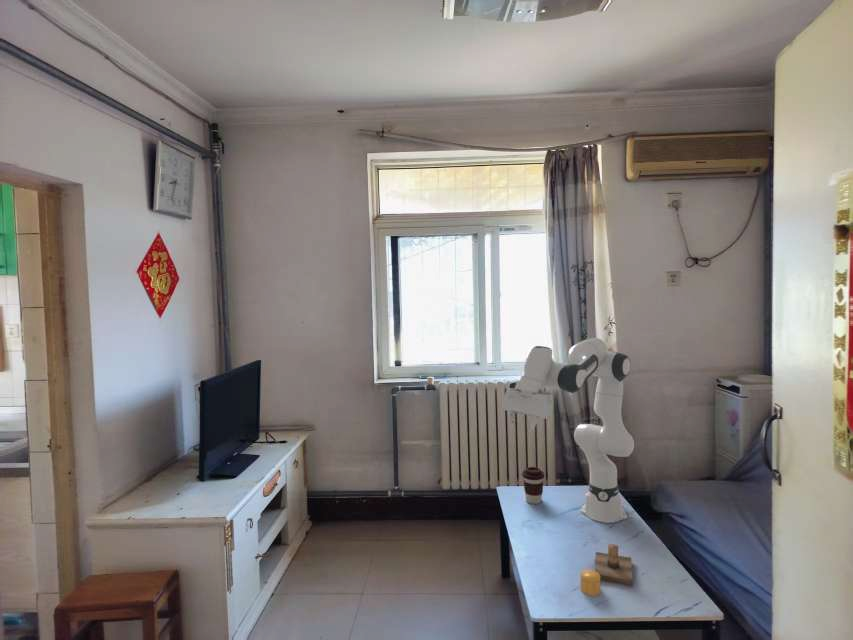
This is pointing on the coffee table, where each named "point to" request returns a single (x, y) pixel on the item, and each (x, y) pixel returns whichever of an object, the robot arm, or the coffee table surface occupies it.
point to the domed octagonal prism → (590, 582)
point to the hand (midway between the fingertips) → (520, 426)
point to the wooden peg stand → (614, 566)
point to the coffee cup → (533, 484)
